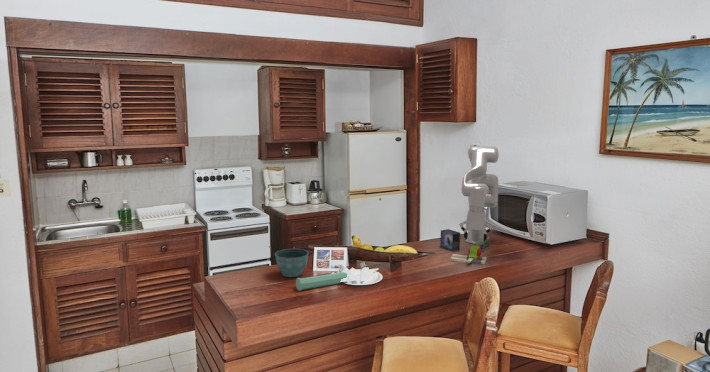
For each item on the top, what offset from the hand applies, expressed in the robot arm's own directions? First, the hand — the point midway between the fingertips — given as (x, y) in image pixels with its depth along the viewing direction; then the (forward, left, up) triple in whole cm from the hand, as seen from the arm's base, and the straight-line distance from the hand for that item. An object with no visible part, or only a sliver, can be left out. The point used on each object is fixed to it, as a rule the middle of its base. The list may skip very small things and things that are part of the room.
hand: (475, 240), depth 268 cm
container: (+65, -62, -12) cm, 90 cm away
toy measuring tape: (+2, -1, -10) cm, 11 cm away
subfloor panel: (+1, -3, -12) cm, 12 cm away
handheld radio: (-20, +1, -12) cm, 23 cm away
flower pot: (+56, -82, -12) cm, 100 cm away
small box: (-20, -16, -12) cm, 28 cm away
